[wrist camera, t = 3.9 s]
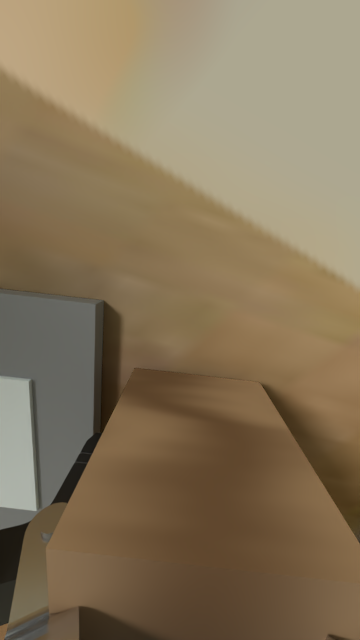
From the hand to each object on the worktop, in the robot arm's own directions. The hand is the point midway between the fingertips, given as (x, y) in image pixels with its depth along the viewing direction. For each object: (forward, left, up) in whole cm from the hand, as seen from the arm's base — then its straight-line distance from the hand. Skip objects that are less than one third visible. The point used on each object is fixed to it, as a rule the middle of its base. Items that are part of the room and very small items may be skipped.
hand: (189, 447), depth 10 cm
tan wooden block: (0, 0, -1) cm, 1 cm away
